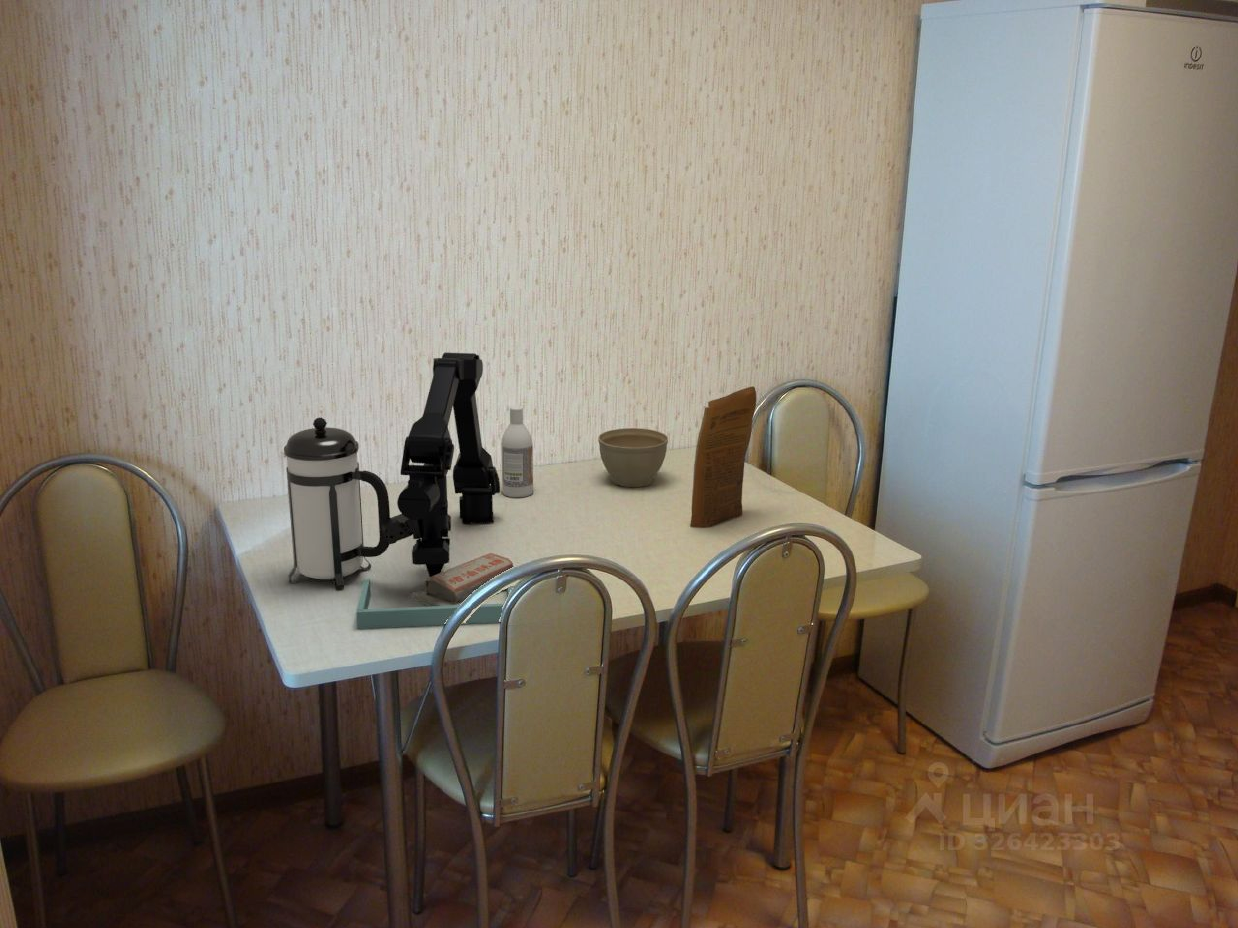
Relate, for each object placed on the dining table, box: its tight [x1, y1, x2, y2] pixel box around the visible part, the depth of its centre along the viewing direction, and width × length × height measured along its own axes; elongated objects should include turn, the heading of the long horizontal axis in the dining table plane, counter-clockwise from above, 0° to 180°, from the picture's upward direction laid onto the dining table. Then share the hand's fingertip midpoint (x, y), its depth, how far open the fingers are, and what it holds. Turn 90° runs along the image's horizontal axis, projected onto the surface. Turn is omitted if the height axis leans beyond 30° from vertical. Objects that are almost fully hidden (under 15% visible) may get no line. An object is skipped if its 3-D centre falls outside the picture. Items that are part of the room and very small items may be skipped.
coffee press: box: [283, 417, 391, 591], centre depth 195 cm, size 17×16×30 cm
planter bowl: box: [597, 427, 669, 488], centre depth 253 cm, size 16×16×11 cm
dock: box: [355, 578, 515, 630], centre depth 186 cm, size 26×14×3 cm, turn 97°
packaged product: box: [412, 552, 515, 607], centre depth 194 cm, size 18×5×10 cm
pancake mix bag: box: [689, 386, 757, 529], centre depth 227 cm, size 7×19×28 cm, turn 134°
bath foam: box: [500, 405, 534, 499], centre depth 242 cm, size 7×7×20 cm
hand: (434, 581), depth 195 cm, fingers closed
